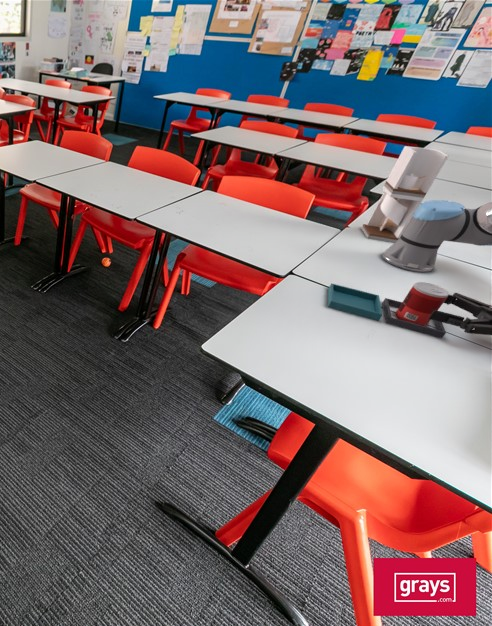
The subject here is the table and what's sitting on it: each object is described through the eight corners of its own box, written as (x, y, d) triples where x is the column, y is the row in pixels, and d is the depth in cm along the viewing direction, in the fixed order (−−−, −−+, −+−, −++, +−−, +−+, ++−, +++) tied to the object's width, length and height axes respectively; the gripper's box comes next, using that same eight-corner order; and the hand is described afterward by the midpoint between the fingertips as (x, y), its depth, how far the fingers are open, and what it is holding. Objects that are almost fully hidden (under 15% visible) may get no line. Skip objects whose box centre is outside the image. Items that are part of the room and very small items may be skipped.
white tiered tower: (361, 228, 187) (404, 146, 167) (389, 233, 183) (437, 149, 163) (367, 237, 178) (414, 152, 158) (397, 242, 175) (448, 156, 155)
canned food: (432, 329, 123) (455, 297, 117) (402, 325, 124) (424, 293, 118) (417, 314, 129) (439, 283, 123) (389, 310, 130) (409, 280, 124)
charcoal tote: (382, 303, 134) (385, 297, 133) (433, 316, 129) (437, 311, 128) (385, 323, 125) (389, 317, 124) (441, 338, 119) (446, 332, 118)
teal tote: (328, 289, 140) (331, 283, 139) (375, 301, 135) (379, 295, 134) (327, 307, 131) (331, 300, 130) (378, 321, 125) (382, 314, 124)
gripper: (530, 363, 107) (427, 335, 116) (501, 317, 125) (413, 295, 134) (553, 340, 103) (443, 312, 112) (519, 295, 121) (427, 274, 129)
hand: (427, 303), depth 123 cm, fingers open, 13 cm apart
